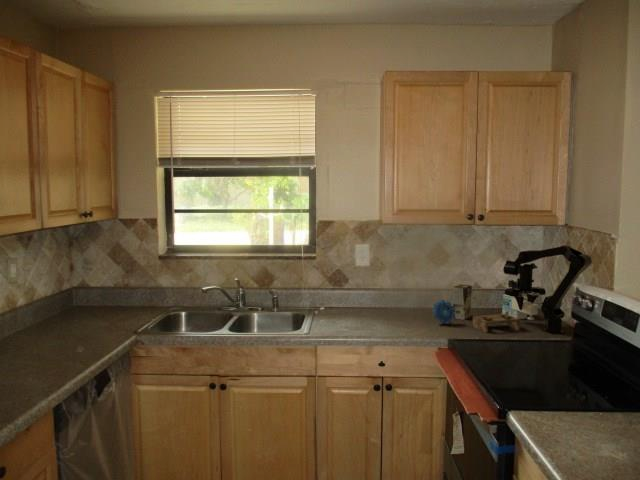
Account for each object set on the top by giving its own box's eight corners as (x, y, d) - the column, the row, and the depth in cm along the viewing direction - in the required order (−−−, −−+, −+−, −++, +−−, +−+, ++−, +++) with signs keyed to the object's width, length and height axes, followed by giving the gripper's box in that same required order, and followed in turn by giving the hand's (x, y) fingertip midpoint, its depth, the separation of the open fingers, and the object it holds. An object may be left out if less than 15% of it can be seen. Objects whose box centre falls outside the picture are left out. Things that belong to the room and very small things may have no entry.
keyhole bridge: (519, 329, 242) (519, 319, 242) (485, 332, 238) (485, 321, 237) (505, 323, 253) (505, 313, 252) (472, 326, 248) (472, 316, 248)
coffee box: (464, 320, 260) (465, 288, 258) (452, 318, 263) (452, 286, 262) (471, 316, 267) (472, 285, 265) (458, 314, 271) (459, 283, 269)
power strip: (518, 312, 257) (519, 298, 256) (537, 320, 244) (538, 304, 243) (511, 313, 256) (512, 299, 255) (529, 320, 243) (530, 305, 242)
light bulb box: (501, 314, 271) (502, 294, 269) (511, 313, 273) (512, 293, 272) (517, 319, 261) (518, 298, 260) (527, 318, 264) (528, 297, 263)
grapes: (434, 326, 248) (435, 301, 246) (430, 323, 254) (430, 298, 253) (458, 325, 249) (459, 301, 248) (453, 322, 256) (454, 298, 254)
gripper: (531, 273, 258) (530, 304, 260) (498, 275, 253) (497, 306, 255) (547, 277, 247) (545, 309, 249) (512, 279, 243) (511, 312, 244)
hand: (524, 309), depth 250 cm, fingers closed on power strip, 4 cm apart
